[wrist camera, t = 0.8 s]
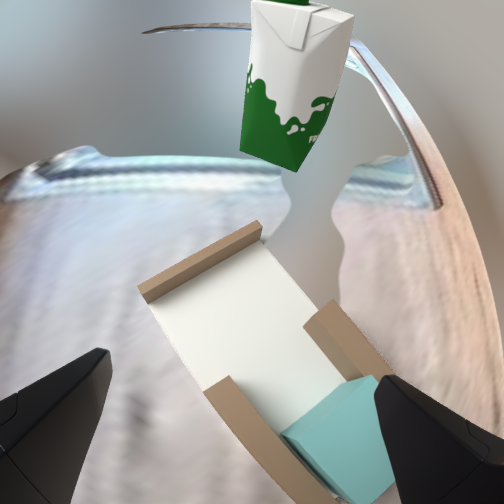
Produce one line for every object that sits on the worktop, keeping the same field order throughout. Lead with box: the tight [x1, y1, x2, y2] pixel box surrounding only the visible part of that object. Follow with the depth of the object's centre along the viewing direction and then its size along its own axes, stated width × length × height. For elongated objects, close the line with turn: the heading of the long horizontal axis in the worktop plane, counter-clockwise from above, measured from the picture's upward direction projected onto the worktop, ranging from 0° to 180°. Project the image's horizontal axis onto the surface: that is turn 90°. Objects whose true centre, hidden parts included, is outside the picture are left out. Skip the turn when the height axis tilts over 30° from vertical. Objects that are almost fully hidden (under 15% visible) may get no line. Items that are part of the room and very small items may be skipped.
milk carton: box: [240, 0, 355, 172], centre depth 25 cm, size 9×9×20 cm
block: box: [280, 374, 395, 504], centre depth 15 cm, size 7×6×5 cm
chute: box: [137, 220, 395, 504], centre depth 19 cm, size 22×11×4 cm, turn 36°
